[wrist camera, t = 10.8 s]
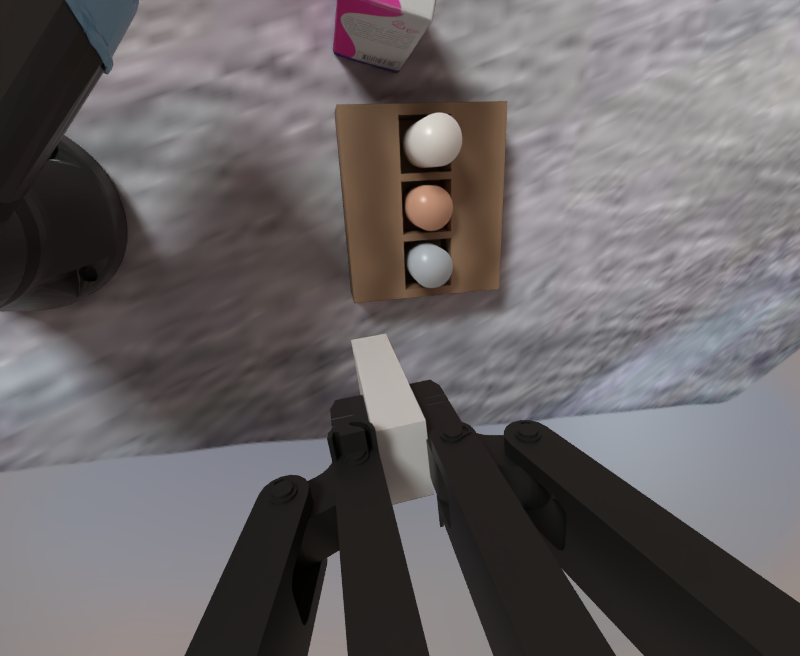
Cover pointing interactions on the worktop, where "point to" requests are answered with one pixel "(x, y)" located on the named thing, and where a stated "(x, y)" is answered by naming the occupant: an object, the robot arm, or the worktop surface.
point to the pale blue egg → (427, 263)
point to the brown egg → (427, 206)
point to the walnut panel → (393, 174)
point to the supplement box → (380, 30)
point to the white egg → (432, 141)
